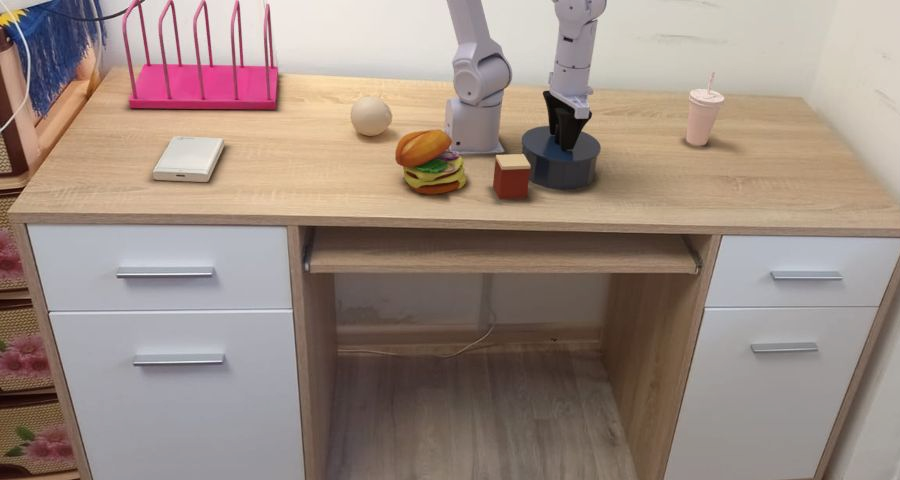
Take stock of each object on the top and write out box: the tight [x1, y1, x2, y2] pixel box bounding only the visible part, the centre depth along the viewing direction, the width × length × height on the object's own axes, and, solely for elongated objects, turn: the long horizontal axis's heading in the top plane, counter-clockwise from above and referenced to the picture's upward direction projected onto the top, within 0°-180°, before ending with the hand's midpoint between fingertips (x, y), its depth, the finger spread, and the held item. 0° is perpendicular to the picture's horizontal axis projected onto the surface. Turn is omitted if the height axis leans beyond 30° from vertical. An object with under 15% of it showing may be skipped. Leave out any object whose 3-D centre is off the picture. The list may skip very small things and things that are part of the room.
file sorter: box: [121, 0, 279, 110], centre depth 152 cm, size 17×25×16 cm
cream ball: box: [350, 95, 393, 137], centre depth 146 cm, size 7×7×7 cm
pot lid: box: [520, 121, 602, 163], centre depth 137 cm, size 13×13×4 cm
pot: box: [521, 146, 598, 191], centre depth 139 cm, size 12×12×6 cm
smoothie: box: [685, 70, 725, 146], centre depth 153 cm, size 6×6×14 cm
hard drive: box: [152, 135, 225, 183], centre depth 132 cm, size 2×8×12 cm
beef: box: [492, 153, 531, 200], centre depth 132 cm, size 5×4×6 cm
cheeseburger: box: [394, 128, 467, 195], centre depth 132 cm, size 10×11×10 cm
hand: (561, 141), depth 137 cm, fingers open, 5 cm apart
